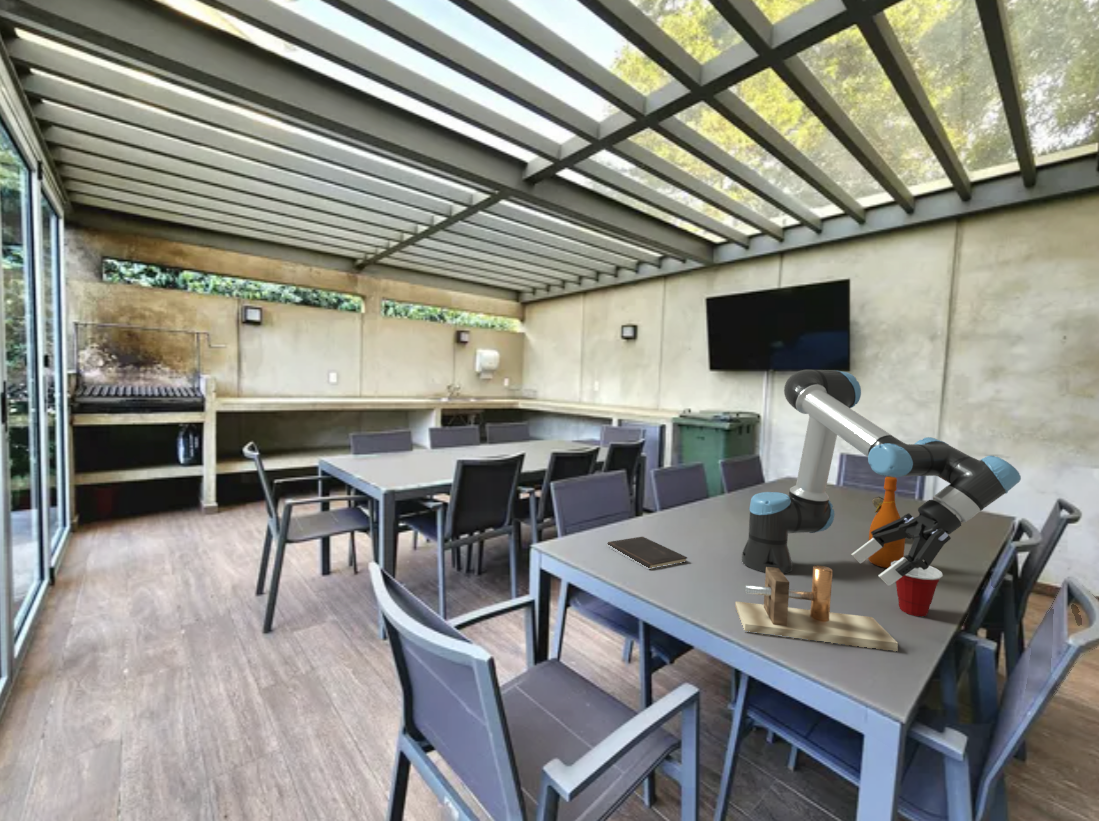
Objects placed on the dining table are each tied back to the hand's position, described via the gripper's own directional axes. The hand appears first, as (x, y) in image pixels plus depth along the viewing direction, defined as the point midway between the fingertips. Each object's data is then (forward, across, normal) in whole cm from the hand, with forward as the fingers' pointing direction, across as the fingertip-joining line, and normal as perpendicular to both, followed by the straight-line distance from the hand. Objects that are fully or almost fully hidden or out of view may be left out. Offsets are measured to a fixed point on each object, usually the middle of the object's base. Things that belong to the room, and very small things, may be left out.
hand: (868, 569), depth 110 cm
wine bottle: (-9, +54, -32) cm, 64 cm away
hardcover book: (+47, +41, +24) cm, 67 cm away
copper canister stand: (+20, 0, -3) cm, 20 cm away
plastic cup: (-2, +17, -25) cm, 30 cm away
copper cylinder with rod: (+21, +1, +3) cm, 22 cm away
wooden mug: (-18, +85, -41) cm, 96 cm away
